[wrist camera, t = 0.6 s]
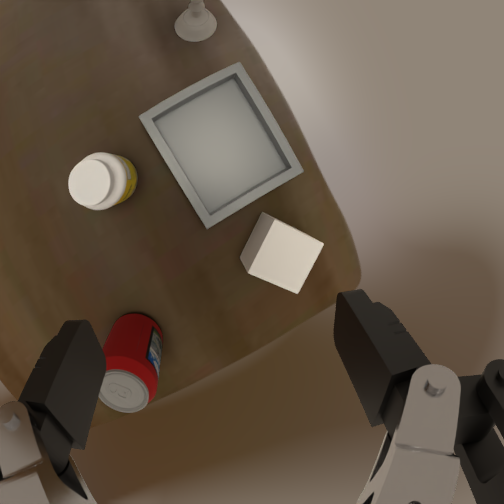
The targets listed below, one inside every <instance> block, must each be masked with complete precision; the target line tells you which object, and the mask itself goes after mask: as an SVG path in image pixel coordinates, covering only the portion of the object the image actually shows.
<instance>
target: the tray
mask: <svg viewBox="0 0 504 504" xmlns="http://www.w3.org/2000/svg"><path fill="white" fill-rule="evenodd" d="M139 118H140V120H141V121H142V123H143V125H144V126H145V128H146V130H147V132H148V133H149V135H150V137H151V138H152V140H153V142H154V143H155V145H156V147H157V148H158V150H159V152H160V153H161V155H162V157H163V158H164V160H165V162H166V163H167V165H168V167H169V168H170V170H171V172H172V173H173V175H174V176H175V178H176V180H177V181H178V183H179V185H180V186H181V188H182V190H183V191H184V193H185V194H186V196H187V198H188V199H189V201H190V202H191V204H192V206H193V207H194V209H195V211H196V212H197V214H198V215H199V217H200V219H201V220H202V222H203V223H204V225H205V227H206V228H207V229H208V228H210V227H211V226H213V225H215V224H216V223H218V222H220V221H221V220H223V219H224V218H226V217H228V216H229V215H231V214H233V213H234V212H236V211H238V210H239V209H241V208H243V207H244V206H246V205H248V204H249V203H251V202H253V201H254V200H256V199H258V198H259V197H261V196H263V195H264V194H266V193H268V192H269V191H271V190H273V189H275V188H276V187H278V186H280V185H281V184H283V183H285V182H287V181H288V180H290V179H292V178H294V177H295V176H297V175H299V174H300V173H302V172H304V171H303V169H302V167H301V165H300V163H299V161H298V159H297V158H296V156H295V154H294V152H293V150H292V148H291V147H290V145H289V143H288V141H287V139H286V138H285V136H284V134H283V132H282V131H281V129H280V127H279V125H278V124H277V122H276V120H275V118H274V117H273V115H272V113H271V112H270V110H269V108H268V107H267V105H266V103H265V102H264V100H263V98H262V97H261V95H260V93H259V92H258V90H257V88H256V87H255V85H254V84H253V82H252V80H251V79H250V77H249V76H248V74H247V72H246V71H245V69H244V68H243V66H242V65H241V63H240V62H238V63H235V64H233V65H231V66H229V67H227V68H225V69H223V70H220V71H218V72H216V73H214V74H212V75H210V76H208V77H206V78H204V79H202V80H200V81H198V82H197V83H195V84H193V85H191V86H189V87H187V88H185V89H184V90H182V91H180V92H178V93H176V94H175V95H173V96H171V97H169V98H168V99H166V100H164V101H163V102H161V103H159V104H158V105H156V106H154V107H153V108H151V109H149V110H148V111H146V112H145V113H143V114H141V115H140V116H139Z"/></svg>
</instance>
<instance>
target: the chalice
mask: <svg viewBox="0 0 504 504" xmlns="http://www.w3.org/2000/svg"><path fill="white" fill-rule="evenodd" d="M190 1H191V2H190V3H189V5H188V7H189V8H188V9H186V10H185V11H184V12H183V13H182V14H181V15H180V16H179V17H178V18H177V20H176V22H175V31H176V33H177V34H178V36H179V37H181V38H182V39H184V40H187V41H190V42H198V41H203V40H205V39H207V38H209V37H210V36H211V35H212V34H214V32H215V30H216V27H217V22H216V19H215V17H214V16H213V15H212V14H211V12H210V11H209V10H207V9H206V8H205V4H204V2H203V1H204V0H190Z"/></svg>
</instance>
